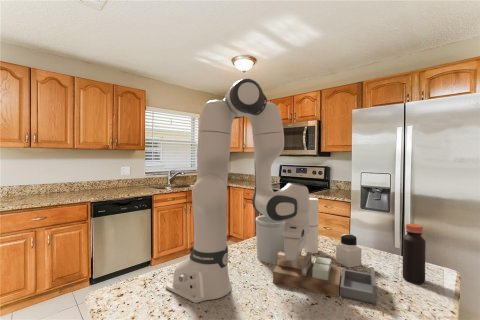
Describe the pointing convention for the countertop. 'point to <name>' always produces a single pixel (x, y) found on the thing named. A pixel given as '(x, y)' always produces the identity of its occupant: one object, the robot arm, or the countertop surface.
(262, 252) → the utensil holder
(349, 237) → the medicine bottle
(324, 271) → the tile
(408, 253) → the vinegar
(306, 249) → the cylindrical container
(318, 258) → the tile
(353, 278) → the box
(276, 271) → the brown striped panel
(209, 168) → the robot arm
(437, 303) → the countertop surface
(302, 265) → the scraper
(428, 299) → the countertop surface
